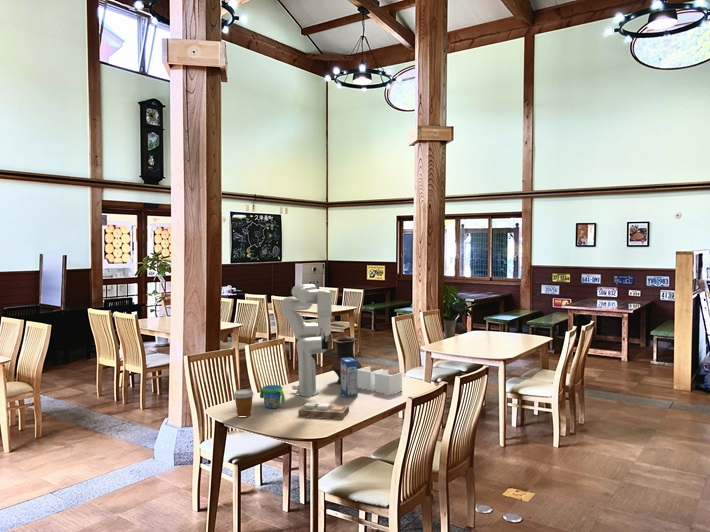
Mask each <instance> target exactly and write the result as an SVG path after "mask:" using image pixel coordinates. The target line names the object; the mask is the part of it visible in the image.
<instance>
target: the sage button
mask: <svg viewBox="0 0 710 532" xmlns="http://www.w3.org/2000/svg"><path fill="white" fill-rule="evenodd" d="M317 404H318V403H317V402H306V403H305V404H304V405H303V406H304V408H306V409H315V408H316V407H317Z"/></svg>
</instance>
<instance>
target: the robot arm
mask: <svg viewBox="0 0 710 532" xmlns="http://www.w3.org/2000/svg"><path fill="white" fill-rule="evenodd" d="M291 295H292V296H287V297H285V298H283V299H282V301H281V311H282V313H283V315H284V318H285V319H286V320H287V321H288V323H289V326H290V328H291V331H292V334H293V336H294V337H295V339H296V340H297V342H296V352H297V358H298V359H297V360H298V385H292V386H291V388H292V390H296V393H295V394H296V395H297V394H298V396H299V395H302V396H301V397H311V396H312V395H313V396H317V395H319V389H317V388H316V387H317V381H316V380H317V376H316V375H317V372H316V367H317V366H316V361H315V358H314V357H313V356H312V355H317V354H323V353H325V352H327V350H328V349H329V336H330V335H331V332H332V327H331V326H332V323H331V318H333V316H332V313H333V311H332V310H333V309H332V292H331V291H330V290H327V289H323V288H320V289H318V288H317V286H316V285H315V284H312V283H305V284H304V283H303V284H302V283H301V284H295V286H293V287H292V289H291ZM315 304H316V307H317V308H316V313H317V314H316V315H317V322H305V319H304V318H303V316H302V315H301V314H300V313H299V312H297V311H308V310H310V309H311V307H312V306H313V305H315ZM313 396H312V397H313Z"/></svg>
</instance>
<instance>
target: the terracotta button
mask: <svg viewBox="0 0 710 532" xmlns="http://www.w3.org/2000/svg"><path fill="white" fill-rule="evenodd" d="M343 409H344V407H336V406H334V407H333V408H332V409H331V410H339V411H342V410H343Z"/></svg>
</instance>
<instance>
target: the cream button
mask: <svg viewBox="0 0 710 532" xmlns="http://www.w3.org/2000/svg"><path fill="white" fill-rule="evenodd" d="M318 404H319V405H318V409H321V410H328V409H329V408H330V405H331V403H326V402H325V403H324V402H323V403H318Z"/></svg>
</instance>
